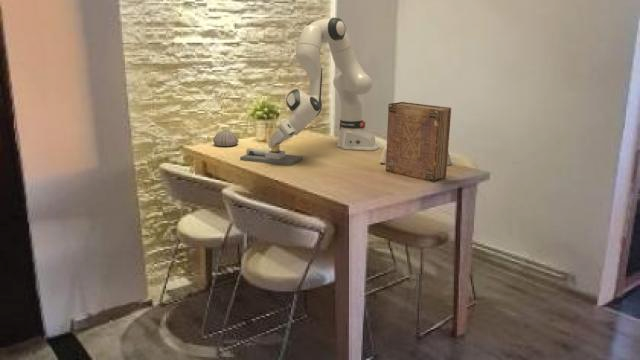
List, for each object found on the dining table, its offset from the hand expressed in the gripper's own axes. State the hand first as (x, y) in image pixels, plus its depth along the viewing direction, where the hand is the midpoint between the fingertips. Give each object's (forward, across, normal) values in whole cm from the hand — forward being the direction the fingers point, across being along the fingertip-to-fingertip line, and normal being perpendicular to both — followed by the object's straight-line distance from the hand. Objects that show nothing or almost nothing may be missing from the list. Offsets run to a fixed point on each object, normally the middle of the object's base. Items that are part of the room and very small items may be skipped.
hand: (274, 144), depth 260 cm
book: (-42, -1, +53) cm, 68 cm away
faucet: (-32, -21, +43) cm, 57 cm away
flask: (-48, -26, +59) cm, 80 cm away
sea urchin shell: (+33, -20, -22) cm, 44 cm away
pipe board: (+6, 0, +4) cm, 7 cm away
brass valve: (+4, 0, +5) cm, 6 cm away
